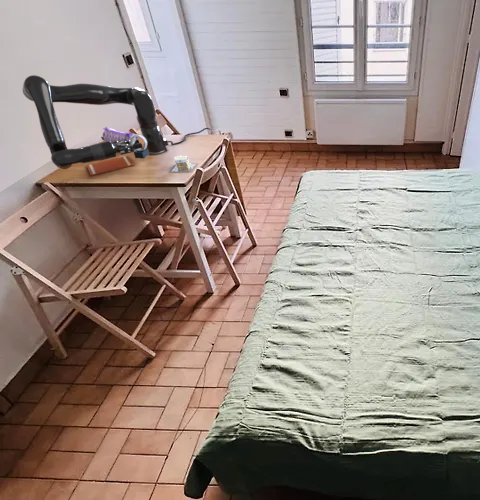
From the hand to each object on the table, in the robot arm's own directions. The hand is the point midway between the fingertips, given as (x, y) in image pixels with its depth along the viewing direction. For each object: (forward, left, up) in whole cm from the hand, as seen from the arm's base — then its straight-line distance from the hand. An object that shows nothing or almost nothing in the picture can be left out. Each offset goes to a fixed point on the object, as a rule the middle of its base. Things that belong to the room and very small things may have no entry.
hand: (140, 143), depth 187 cm
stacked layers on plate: (-15, +9, -14) cm, 22 cm away
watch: (+1, 0, -7) cm, 7 cm away
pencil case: (+4, -43, -14) cm, 46 cm away
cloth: (+15, -17, -14) cm, 27 cm away
